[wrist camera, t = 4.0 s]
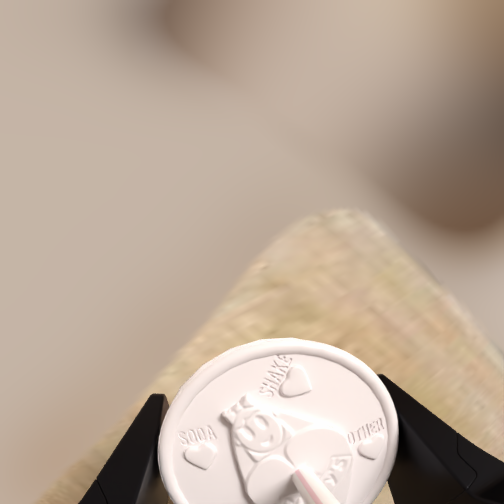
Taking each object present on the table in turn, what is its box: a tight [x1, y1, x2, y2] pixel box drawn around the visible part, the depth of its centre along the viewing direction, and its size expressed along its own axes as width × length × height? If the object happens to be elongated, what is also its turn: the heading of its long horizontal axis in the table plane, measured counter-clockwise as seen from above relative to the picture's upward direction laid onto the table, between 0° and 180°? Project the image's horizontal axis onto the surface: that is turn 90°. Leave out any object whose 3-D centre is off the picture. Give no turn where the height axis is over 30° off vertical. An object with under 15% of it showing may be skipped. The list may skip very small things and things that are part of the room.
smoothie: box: [158, 338, 399, 504], centre depth 9 cm, size 6×6×14 cm
